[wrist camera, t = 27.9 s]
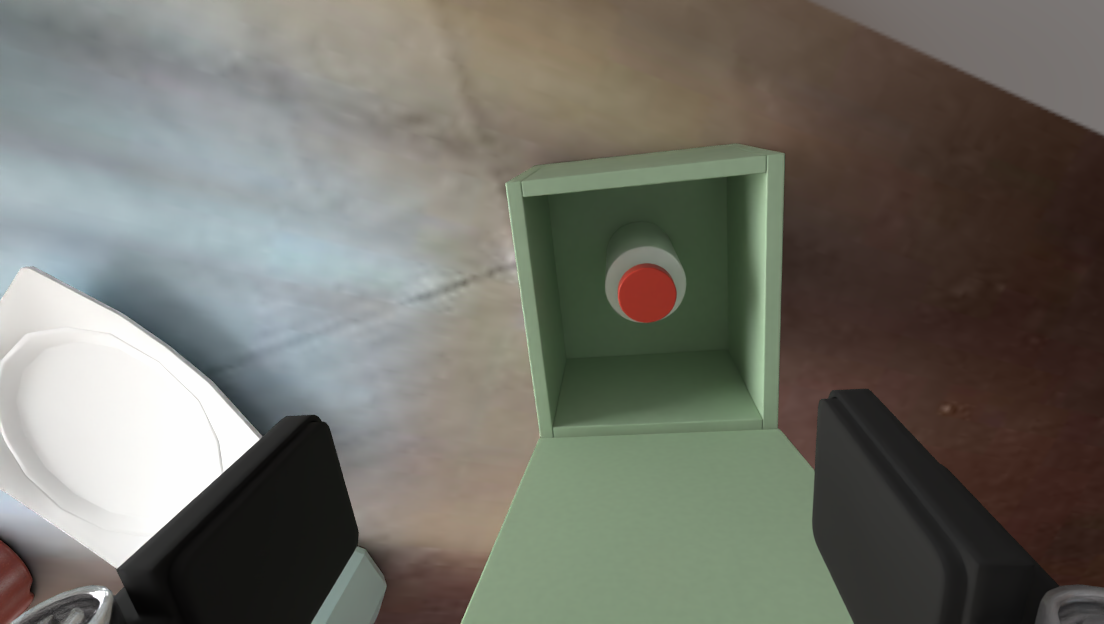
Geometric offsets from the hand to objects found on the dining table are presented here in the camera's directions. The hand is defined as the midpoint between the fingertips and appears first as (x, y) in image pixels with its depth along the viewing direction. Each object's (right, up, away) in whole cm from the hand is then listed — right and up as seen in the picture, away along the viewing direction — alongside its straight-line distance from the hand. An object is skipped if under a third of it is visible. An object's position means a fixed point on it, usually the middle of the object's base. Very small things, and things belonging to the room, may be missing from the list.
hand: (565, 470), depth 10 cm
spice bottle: (+6, +7, +26) cm, 28 cm away
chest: (+6, +6, +27) cm, 29 cm away
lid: (+4, -5, +12) cm, 14 cm away
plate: (-38, -7, +37) cm, 54 cm away
